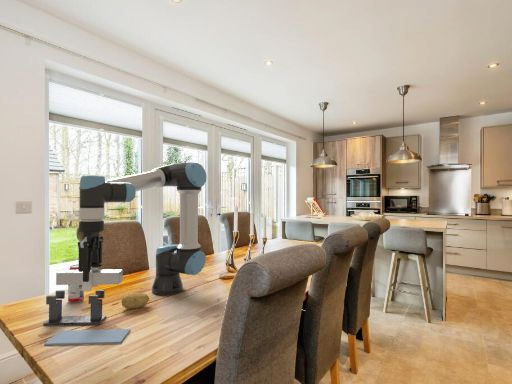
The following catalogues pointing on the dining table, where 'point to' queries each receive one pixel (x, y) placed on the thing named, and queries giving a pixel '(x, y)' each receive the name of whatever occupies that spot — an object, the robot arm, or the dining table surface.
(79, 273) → the rail
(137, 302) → the potato
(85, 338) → the mat
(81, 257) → the robot arm
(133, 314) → the dining table surface
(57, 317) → the standards
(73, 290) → the beer can
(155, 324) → the dining table surface
